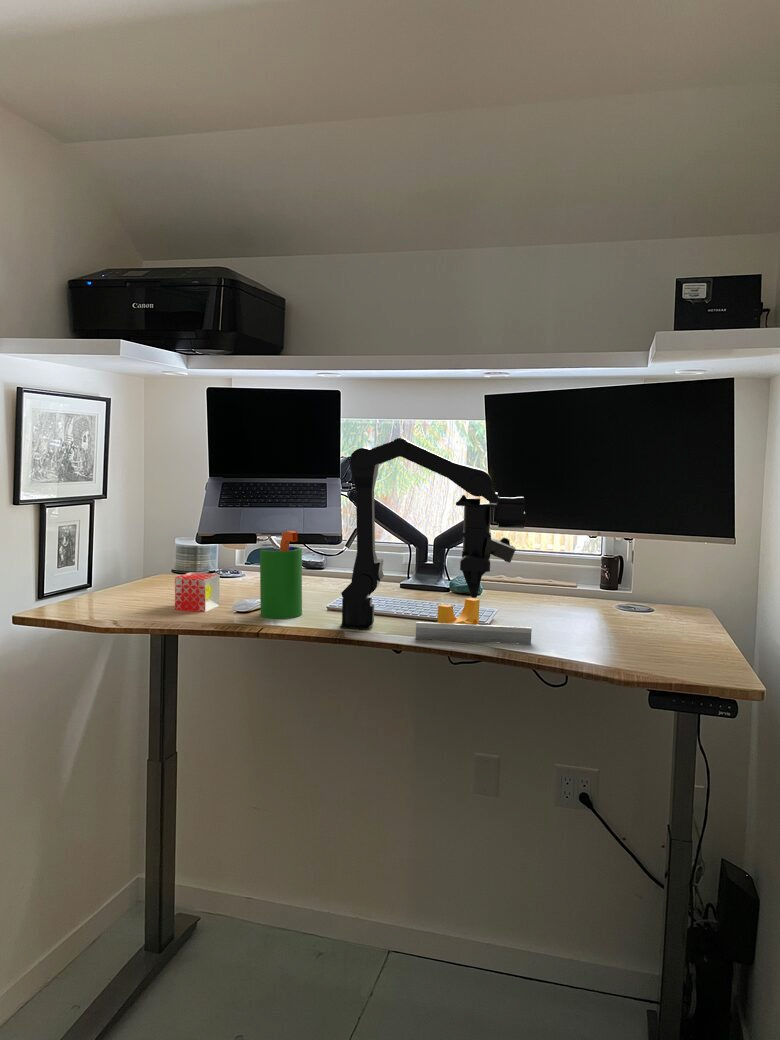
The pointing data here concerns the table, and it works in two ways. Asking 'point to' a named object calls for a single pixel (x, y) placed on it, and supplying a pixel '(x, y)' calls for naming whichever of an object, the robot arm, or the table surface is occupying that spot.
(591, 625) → the table surface
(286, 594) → the cup with straw
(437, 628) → the rail
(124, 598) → the table surface
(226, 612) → the table surface
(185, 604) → the puzzle cube
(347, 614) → the robot arm
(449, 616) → the pipe clamp
